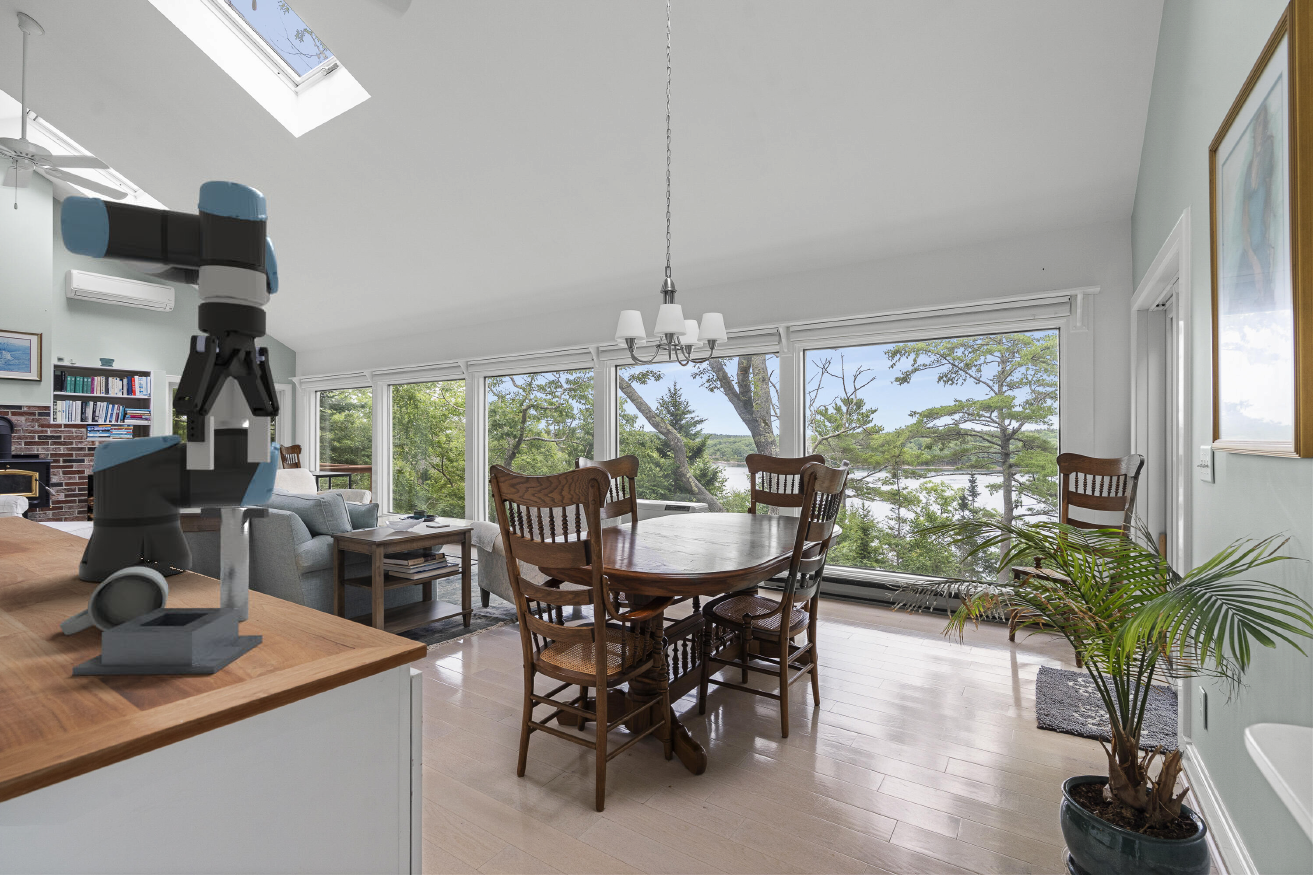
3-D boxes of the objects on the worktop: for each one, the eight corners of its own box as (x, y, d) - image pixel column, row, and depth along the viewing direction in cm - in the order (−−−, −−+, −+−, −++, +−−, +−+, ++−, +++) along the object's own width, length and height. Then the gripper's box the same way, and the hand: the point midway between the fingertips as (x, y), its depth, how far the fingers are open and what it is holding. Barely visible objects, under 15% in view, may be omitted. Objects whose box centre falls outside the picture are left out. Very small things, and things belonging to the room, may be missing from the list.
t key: (195, 623, 86) (196, 509, 85) (209, 616, 89) (210, 506, 88) (259, 623, 86) (260, 510, 86) (271, 615, 89) (272, 506, 89)
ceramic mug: (169, 613, 90) (168, 557, 89) (166, 629, 83) (165, 569, 83) (66, 626, 84) (65, 567, 83) (54, 645, 77) (52, 581, 77)
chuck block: (139, 642, 78) (139, 606, 78) (262, 641, 79) (262, 606, 79) (72, 675, 68) (72, 634, 68) (214, 673, 69) (214, 633, 69)
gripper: (253, 318, 98) (252, 459, 99) (134, 284, 73) (134, 472, 74) (305, 320, 99) (304, 460, 99) (205, 287, 74) (204, 473, 74)
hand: (231, 465), depth 87 cm, fingers open, 13 cm apart
